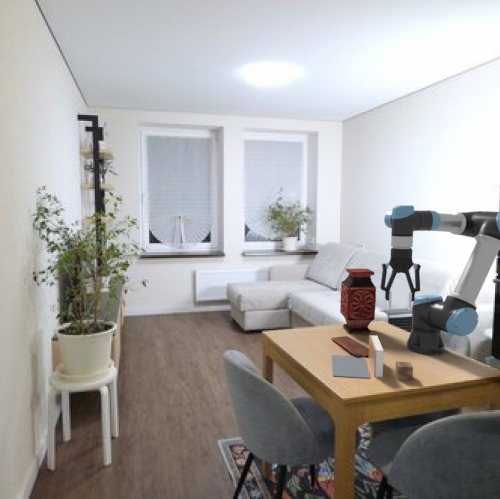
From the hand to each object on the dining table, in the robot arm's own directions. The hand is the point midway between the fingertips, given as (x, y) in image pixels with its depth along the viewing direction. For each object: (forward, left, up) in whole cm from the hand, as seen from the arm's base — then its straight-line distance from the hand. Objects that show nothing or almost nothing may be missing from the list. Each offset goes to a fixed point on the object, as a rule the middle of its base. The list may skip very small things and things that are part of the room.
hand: (399, 309), depth 162 cm
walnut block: (-1, +8, -23) cm, 24 cm away
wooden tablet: (+15, -23, -23) cm, 36 cm away
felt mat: (+18, 0, -23) cm, 29 cm away
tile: (+8, 0, -23) cm, 24 cm away
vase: (+11, -49, -23) cm, 55 cm away
